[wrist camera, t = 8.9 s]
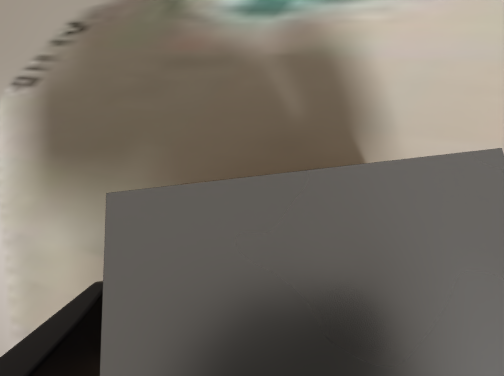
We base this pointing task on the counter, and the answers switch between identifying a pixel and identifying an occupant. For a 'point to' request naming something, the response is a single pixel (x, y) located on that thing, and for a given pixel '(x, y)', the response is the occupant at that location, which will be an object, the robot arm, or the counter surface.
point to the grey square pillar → (310, 273)
